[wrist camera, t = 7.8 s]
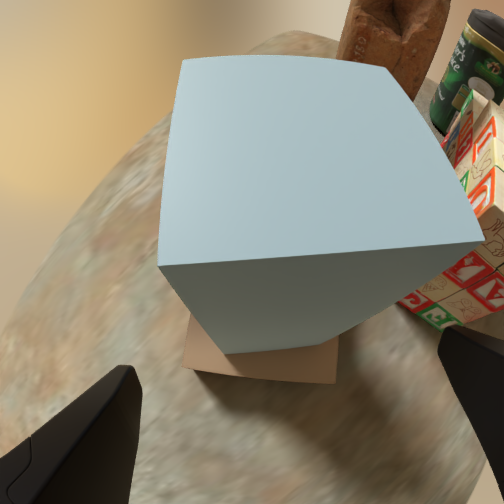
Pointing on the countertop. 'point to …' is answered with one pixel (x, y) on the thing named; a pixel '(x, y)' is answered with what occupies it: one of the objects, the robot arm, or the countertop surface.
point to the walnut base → (262, 360)
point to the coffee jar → (471, 68)
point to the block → (395, 37)
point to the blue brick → (302, 199)
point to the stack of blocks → (487, 213)
